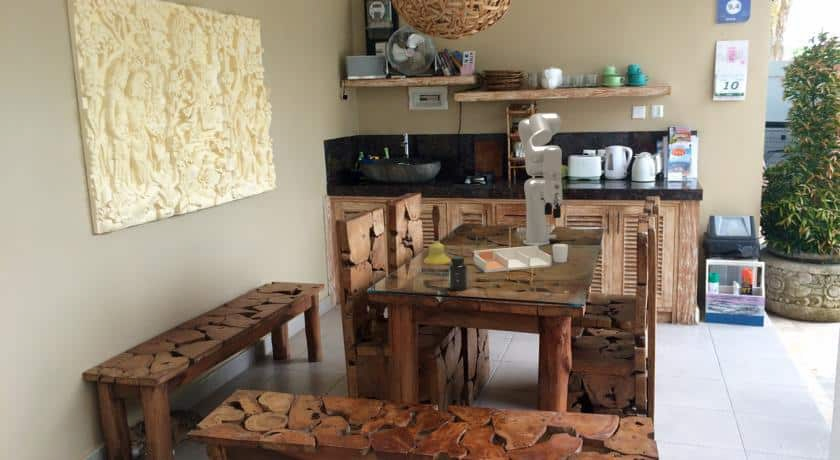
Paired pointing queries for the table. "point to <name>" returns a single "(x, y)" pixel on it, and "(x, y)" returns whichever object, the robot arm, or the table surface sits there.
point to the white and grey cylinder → (560, 252)
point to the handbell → (436, 242)
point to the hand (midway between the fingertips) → (552, 216)
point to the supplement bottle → (457, 274)
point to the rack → (511, 259)
